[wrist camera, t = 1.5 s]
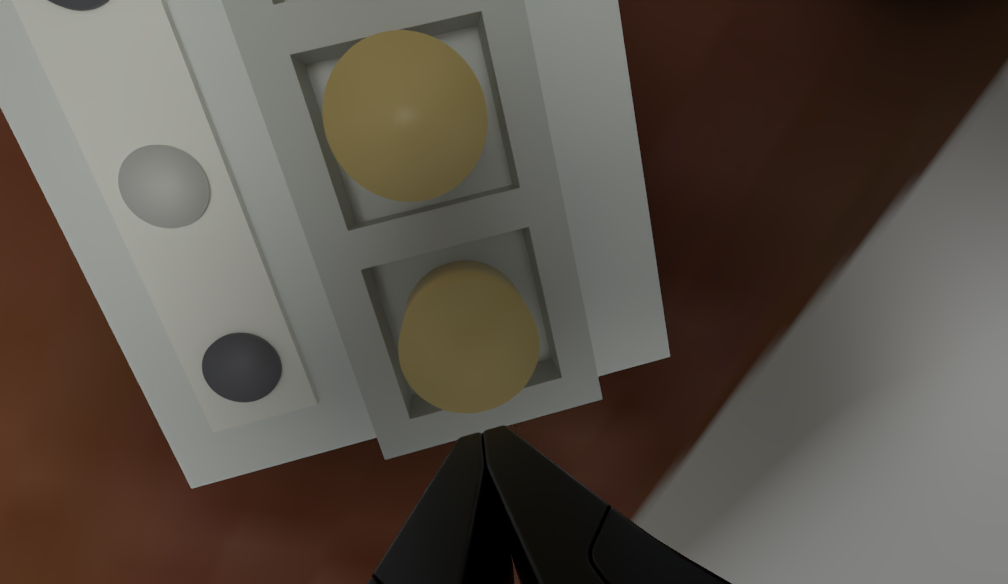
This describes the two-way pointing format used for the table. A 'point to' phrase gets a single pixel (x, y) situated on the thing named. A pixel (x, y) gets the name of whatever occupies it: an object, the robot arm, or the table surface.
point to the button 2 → (467, 338)
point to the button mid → (405, 115)
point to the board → (327, 210)
